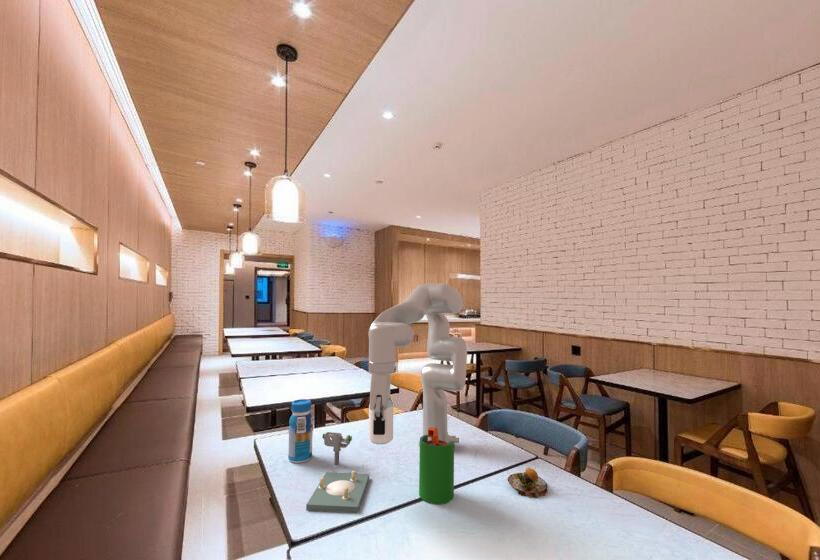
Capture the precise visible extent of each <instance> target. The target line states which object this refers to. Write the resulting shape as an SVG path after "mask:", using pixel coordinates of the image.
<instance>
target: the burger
mask: <svg viewBox="0 0 820 560" xmlns="http://www.w3.org/2000/svg"><path fill="white" fill-rule="evenodd" d="M536 467H537V466H535V469H534V468H531V467H526V468H525V471H524V472H517V473H512V474H510V475H508V477H507V478H506V480H507V482H508V484H509V486H510V487H512V488H513V489H515V490H516V491H517V494H518V496H519V495H520V496H521V497H527V496H526V495H527V494H529V496H530V497H531V498H533V499H536V498H537V499H538V498H539V497H542V496H543V497H545V496H546V495H547V494H548V492H549V489H548V483H547V482H546V480H545V479H543V478H542V477H540V476H539V475H538V473H537V471H536Z"/></svg>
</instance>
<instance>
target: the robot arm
mask: <svg viewBox="0 0 820 560" xmlns="http://www.w3.org/2000/svg"><path fill="white" fill-rule="evenodd" d="M463 307H464V299H463V296H462V295H461V293H460V291H458V290H457V289H456V288H454V287H452V286H450V285H449V284H447V283H443V282H442V283H441V282H439V283H438V282H437V283H435V282H434V283H422V284H418V285H417V286H416V287H415V288H414V289H413V291H412V292H411V293H410V294H409V296H408V297H406V299H405V300H404V301H403V302H401V303H399V304H395V305H394V306H392V307H390V308H387V309H386V310H384V311H382V312H381V313H380V314H379V315H378V316H377V317H376V318H375V319H374V321H373V322H372V323H371V325H370V327H369V329H368V334H367V335H368V374H370V375H371V377H370V389H369V391H370V392H369V404H370V407H369V406H368V409H369V408H370V410H372V409H374V406H375V409H374V420H373V434H374V435H384V434H385V420H384V411H385V410H386V409H387V405H388V400H389V398H391V375H392V374H394V373H395V354H396V353H395V348H406V347H408V346H410V344H412V342H413V341H414V335H415V334H414V332H415V331H414V330H413V327H412V326H411V324H414V323H417V322H420V321H421V320H422V319H423V318H424V317H425V316H426V320H427V323H428V332H427V344H426V354H427V356H428V358H429V359H431V360H435V361H444V362H452V364H445V363H435V362H434V363H433V362H430V363H427V364H425V365H423V367H422V368H421V371H420V380H421V385H422V396H423V397H422V436H423V435H426V434H427V435H428V429H429V428H430V427H434V428H437V429H438V436H439V440H442V441H445V442H447V443H448V444H449V443H450V442H452V441H454V444H460V437H456V435H450V434H449V432H448V398H447V395H446V393H445V392H444V391H450V392H461V391H462V390H464V388H465V386H466V380H467V379H466V378H467V377H466V376H467V363H468V346H467V342H466V340H465V339H463V338H461V337H459V336H450V327H451V325H450V324H451V323H450V322H449V319H448V318H447V316H446V315H445V314H458V313H460V312H461V311H462V309H463ZM381 399H382V401H381ZM381 406H383V408H381ZM380 411H382V413H380ZM430 440H431V437H428V441H430ZM418 446H419V448H420V440H418Z"/></svg>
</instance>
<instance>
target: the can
mask: <svg viewBox="0 0 820 560" xmlns="http://www.w3.org/2000/svg"><path fill="white" fill-rule="evenodd" d="M381 401H382V399H381ZM369 407H370V403H369V405H368V440H369V441H370V442H371V443H372V444H375V445H387V444H388V443H391V441H392V440H394V403H393V401H392V397H390V398H389V400H388V405H387V409H386V410H385V411H384V420H385V434H384V435H374V434H373V420H374V409H375V406H374V409H372V410H370V408H369ZM381 408H383V406H381ZM380 413H382V411H380Z"/></svg>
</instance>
